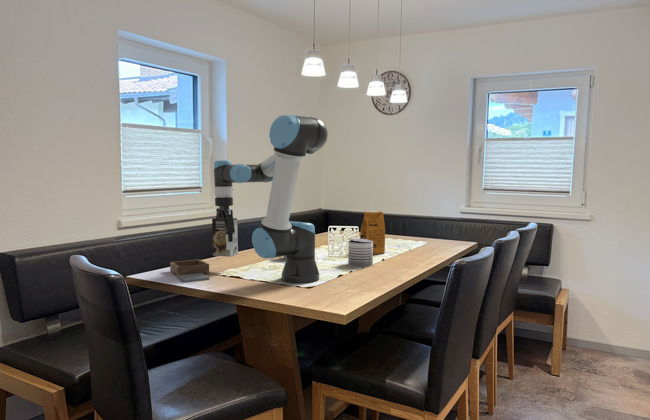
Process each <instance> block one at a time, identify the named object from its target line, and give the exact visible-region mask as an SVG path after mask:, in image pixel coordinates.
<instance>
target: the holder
mask: <svg viewBox="0 0 650 420" xmlns="http://www.w3.org/2000/svg"><path fill="white" fill-rule="evenodd" d="M169 265H170V269H169V270H170V272H171V274H173V275H175V276H176V277H177V275H184V274H193V273H203V274H205V275H208V274H210V264H209V263H208V262H206V261H204V260H203V259H189V260H181V261H170V263H169Z"/></svg>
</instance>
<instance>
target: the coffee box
mask: <svg viewBox="0 0 650 420" xmlns="http://www.w3.org/2000/svg"><path fill="white" fill-rule="evenodd" d="M226 221H227V219H226ZM233 221H234V228H235V233H233V249H230V250H227V247H226V232H227V231H226V227H225V220H223V219H222V218H216V217H213V218H211V225H212V226H211V227H212V228H211V229H212V256H215V257H228V258H229V257H231V258H232V257H235V256H238V255H239V246H238V245H239V244H238V241H239V240H238V239H239V238H238V218H237V217H233Z"/></svg>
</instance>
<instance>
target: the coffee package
mask: <svg viewBox="0 0 650 420" xmlns="http://www.w3.org/2000/svg"><path fill="white" fill-rule="evenodd" d="M363 215H364V216H363V220H362V223H361V227H360V233H359V239H367V240H371V241H373V255H382V254H385V253H386V247H385V246H386V224H385V218H384V212H383V211H376V212H370V211H364V213H363Z"/></svg>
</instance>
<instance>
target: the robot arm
mask: <svg viewBox="0 0 650 420" xmlns="http://www.w3.org/2000/svg"><path fill="white" fill-rule="evenodd" d="M268 137H269V139H270V140H269V141H270V143H271V145H272V146H273V152H274V153H273V154H272V155H270V156H269V157H268V158H266V159H265V160H263V161H262V162H260V163H258V164H243V163H237V164H233V163H232V161H231V160H229V159H228V160H227V159H226V160H225V159H223V160H221V159H220V160H215V161H214V162H213V179H214V180H213V181H214V186H213V187H214V197H215V198H214V202H215V203H214V205H215V207H216V211H215V213H216V216H215V218H222V219H223V220H225V227H226V231H227V232H226V247H227V250H230V249H233V233H235V228H234V221H233V218H234V215H233V212H234V211H233V209H230V207H232V206H233V205H234V198H233V195H234V193H233V191H234V188H233V184H236V183H237V184H243V183H271V189H270V192H269V199H268V205H267V211H266V216H265V217H264V218H262V219H261V222H260V227H257V228H256V229H255V230H253V232H252V235H251V242H252V243H251V244H252V246H253V249H254V251H255V253H256V254H257V256H258V257H260V258H262V259H264V260H266V259H274V258H279V257H283V256H286V258H285V263H284V266H283V268H282V272H281V280H282V281H284V282H287V283H293V284H294V283H295V284H302V283H303V284H304V283H313V282H317V281H319V279H320V272H319V269H318V266H317V261H316V258H315V257H316V232H315V229H316V227H315V225H314V224H313V223H311V222H302V221H291V220H290V217H291V209H292V206H293V201H294V197H295V189H296V186H297V185H296V184H297V179H298V174H299V173H298V172H299V170H300V169H299V168H300V164H301V160H302V159H303V158H305V157H306V156H307V155H313V154H315V153H316V152H318V151H319V150H320V149H321V148H323V147H324V146H325V145H326V142H327V141H328V128H327V127H326V125H325V124H324V122H323V121H322V120H320V119H319V118H317V117H312V116H305V115H304V116H303V115H294V114H282V115H279V116H278V117H277V118H274V121H273V122H272V124H271V126H270V129H269V136H268ZM226 219H227V221H226Z"/></svg>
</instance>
